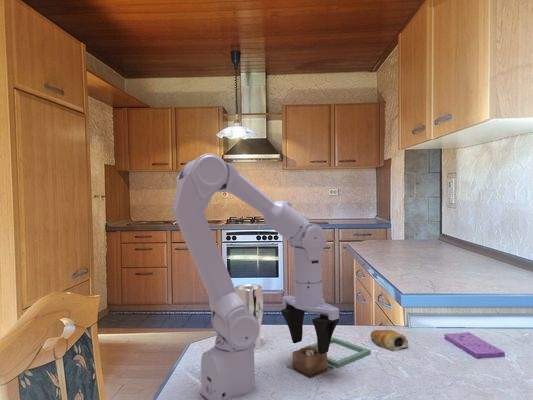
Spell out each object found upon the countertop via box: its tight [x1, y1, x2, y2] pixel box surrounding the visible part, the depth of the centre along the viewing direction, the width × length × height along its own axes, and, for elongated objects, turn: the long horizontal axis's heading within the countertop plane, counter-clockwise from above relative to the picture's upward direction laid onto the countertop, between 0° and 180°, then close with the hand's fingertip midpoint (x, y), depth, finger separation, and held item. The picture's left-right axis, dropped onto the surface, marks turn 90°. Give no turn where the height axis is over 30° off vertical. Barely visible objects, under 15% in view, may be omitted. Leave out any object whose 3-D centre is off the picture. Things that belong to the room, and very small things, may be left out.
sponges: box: [443, 331, 506, 360], centre depth 87 cm, size 7×13×2 cm, turn 5°
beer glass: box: [234, 283, 264, 350], centre depth 88 cm, size 7×7×15 cm
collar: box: [292, 345, 328, 375], centre depth 75 cm, size 5×5×3 cm
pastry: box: [370, 329, 409, 352], centre depth 90 cm, size 9×7×4 cm
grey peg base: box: [286, 350, 335, 379], centre depth 75 cm, size 7×7×4 cm
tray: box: [299, 336, 372, 369], centre depth 82 cm, size 11×11×2 cm
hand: (309, 347), depth 75 cm, fingers open, 7 cm apart
